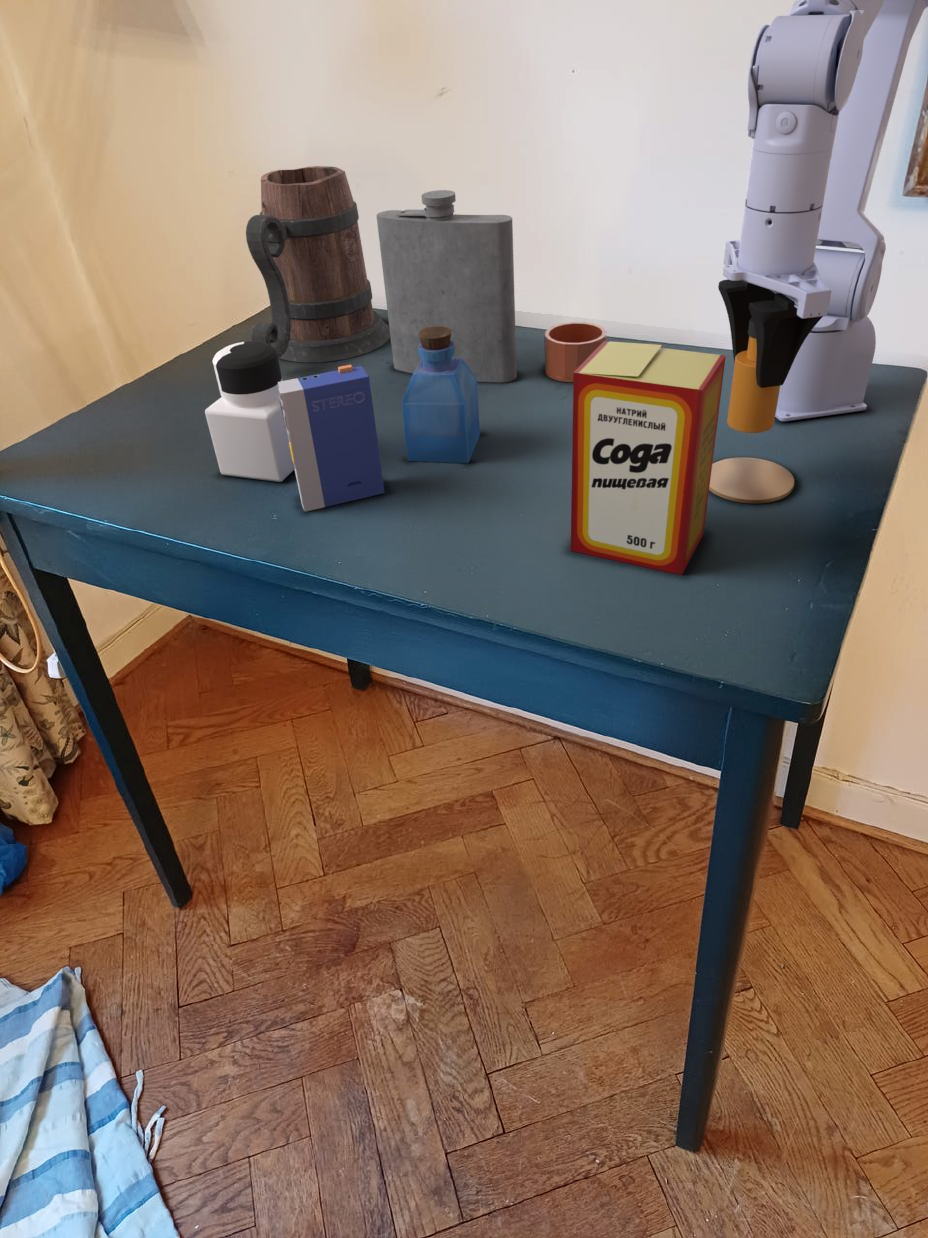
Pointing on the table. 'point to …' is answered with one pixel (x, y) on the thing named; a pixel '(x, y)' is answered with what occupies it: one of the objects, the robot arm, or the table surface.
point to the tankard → (313, 268)
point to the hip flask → (450, 284)
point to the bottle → (750, 393)
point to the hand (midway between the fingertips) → (758, 374)
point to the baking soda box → (643, 452)
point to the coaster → (750, 480)
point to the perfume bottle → (440, 403)
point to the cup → (570, 347)
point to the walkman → (332, 436)
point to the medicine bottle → (249, 414)
